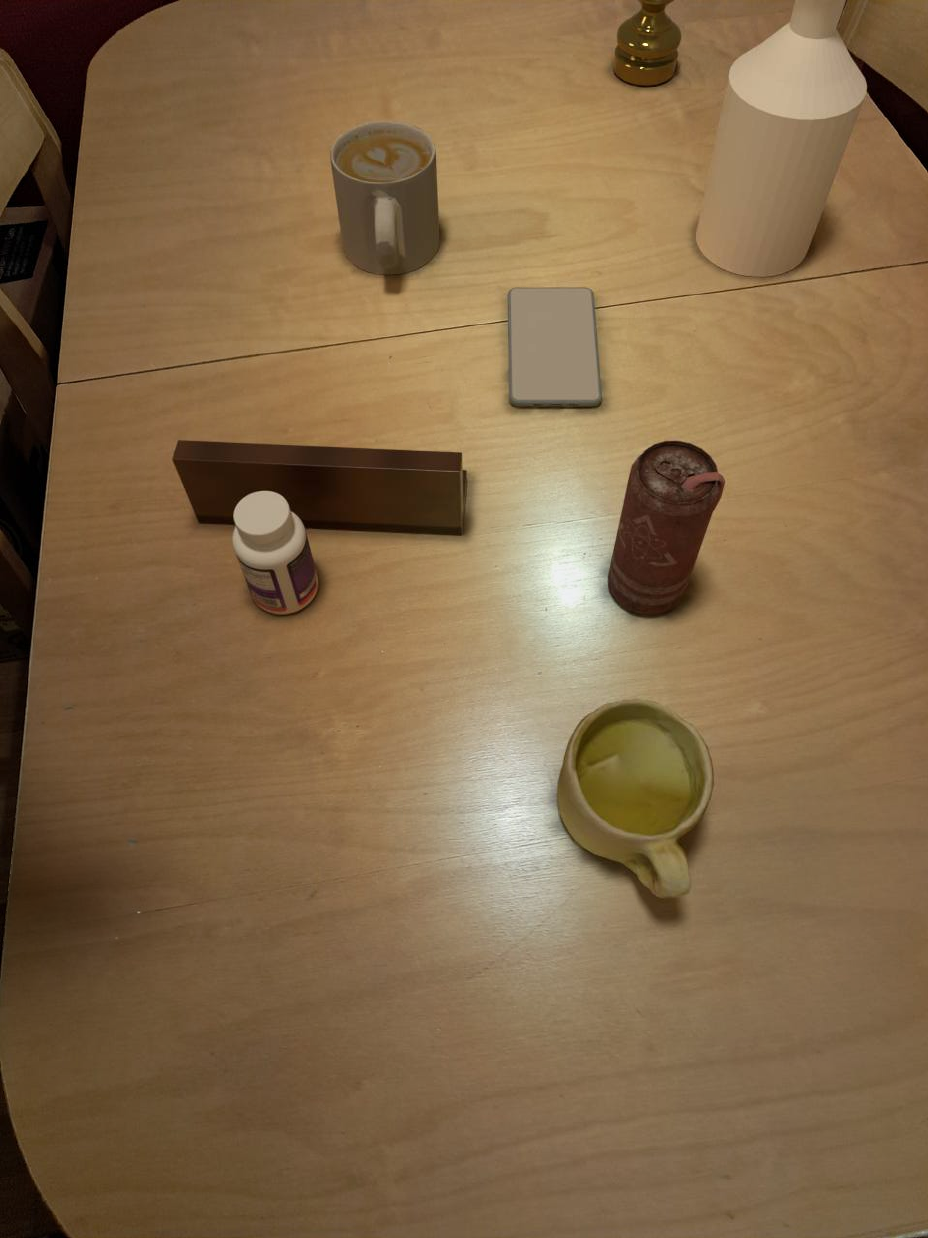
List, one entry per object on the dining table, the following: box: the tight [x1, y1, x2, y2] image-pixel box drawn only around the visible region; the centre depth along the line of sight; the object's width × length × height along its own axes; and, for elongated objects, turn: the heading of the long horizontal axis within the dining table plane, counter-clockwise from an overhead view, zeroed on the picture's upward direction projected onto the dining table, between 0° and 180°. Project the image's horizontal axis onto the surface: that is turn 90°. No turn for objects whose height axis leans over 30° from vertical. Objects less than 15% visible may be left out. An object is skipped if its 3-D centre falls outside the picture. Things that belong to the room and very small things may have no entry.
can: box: [607, 440, 726, 615], centre depth 68 cm, size 6×6×14 cm
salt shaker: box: [613, 0, 682, 87], centre depth 108 cm, size 7×7×10 cm
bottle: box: [695, 0, 868, 278], centre depth 85 cm, size 12×12×25 cm
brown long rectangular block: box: [171, 439, 468, 536], centre depth 76 cm, size 22×6×8 cm, turn 86°
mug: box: [556, 698, 715, 899], centre depth 61 cm, size 12×10×10 cm
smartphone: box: [507, 286, 603, 407], centre depth 88 cm, size 8×1×15 cm
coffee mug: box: [329, 120, 441, 276], centre depth 91 cm, size 13×10×10 cm
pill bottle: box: [231, 491, 319, 615], centre depth 71 cm, size 5×5×10 cm
